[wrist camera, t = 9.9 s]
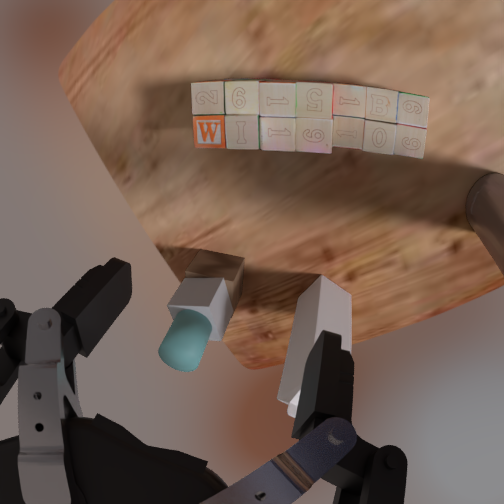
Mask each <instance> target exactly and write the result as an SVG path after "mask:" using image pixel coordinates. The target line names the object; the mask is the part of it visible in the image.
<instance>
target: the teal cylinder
mask: <svg viewBox="0 0 504 504" xmlns="http://www.w3.org/2000/svg"><path fill="white" fill-rule="evenodd" d="M211 332H212V325H211V323H210V321H209V320H208V318H207V317H206V316H204V315H203V314H201V313H199V312H197V311H194V310H182V311H180V312H179V313H178V314H177V315H176V317H175V319H174V321H173V323H172V325H171V327H170V328H169V330H168V332H167V334H166V336H165V338H164V340H163V342H162V344H161V345H160V347H159V351H158V353H159V356H160V358H161V359H162V360H163V362H165V363H166V364H167V365H168V366H170V367H172V368H174V369H176V370H179V371H184V372H190V371H194V370H195V369H196V368H197V367H198V365H199V362H200V360H201V357H202V355H203V352H204V350H205V347H206V344H207V342H208V339H209V337H210V334H211Z"/></svg>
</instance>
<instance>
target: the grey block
mask: <svg viewBox="0 0 504 504" xmlns="http://www.w3.org/2000/svg"><path fill="white" fill-rule="evenodd" d="M167 307H168V309H169V311H170V313H171V316H172V318H173V320H174V319H175V317H176V315H177V314H178V313H179V312H180V311H182V310H194V311H197V312H199V313H201V314H203V315H204V316H206V317H207V318H208V320H209V321H210V323H211V325H212V332H211V334H210V337H209V339H208V340H216V341H221V340H222V338H223V336H224V333H225V331H226V328H227V326H228V323H229V321H230V318H231V316H232V314H233V308H232V305H231V301H230V298H229V294H228V291H227V287H226V284H225V281H224V278H184V280H183V281H182V283H181V284H180V286H179V288H178V289H177V290H176V292H175V294H174V295H173V297H172V298H171V300H170V302H169V303H168V305H167Z"/></svg>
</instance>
